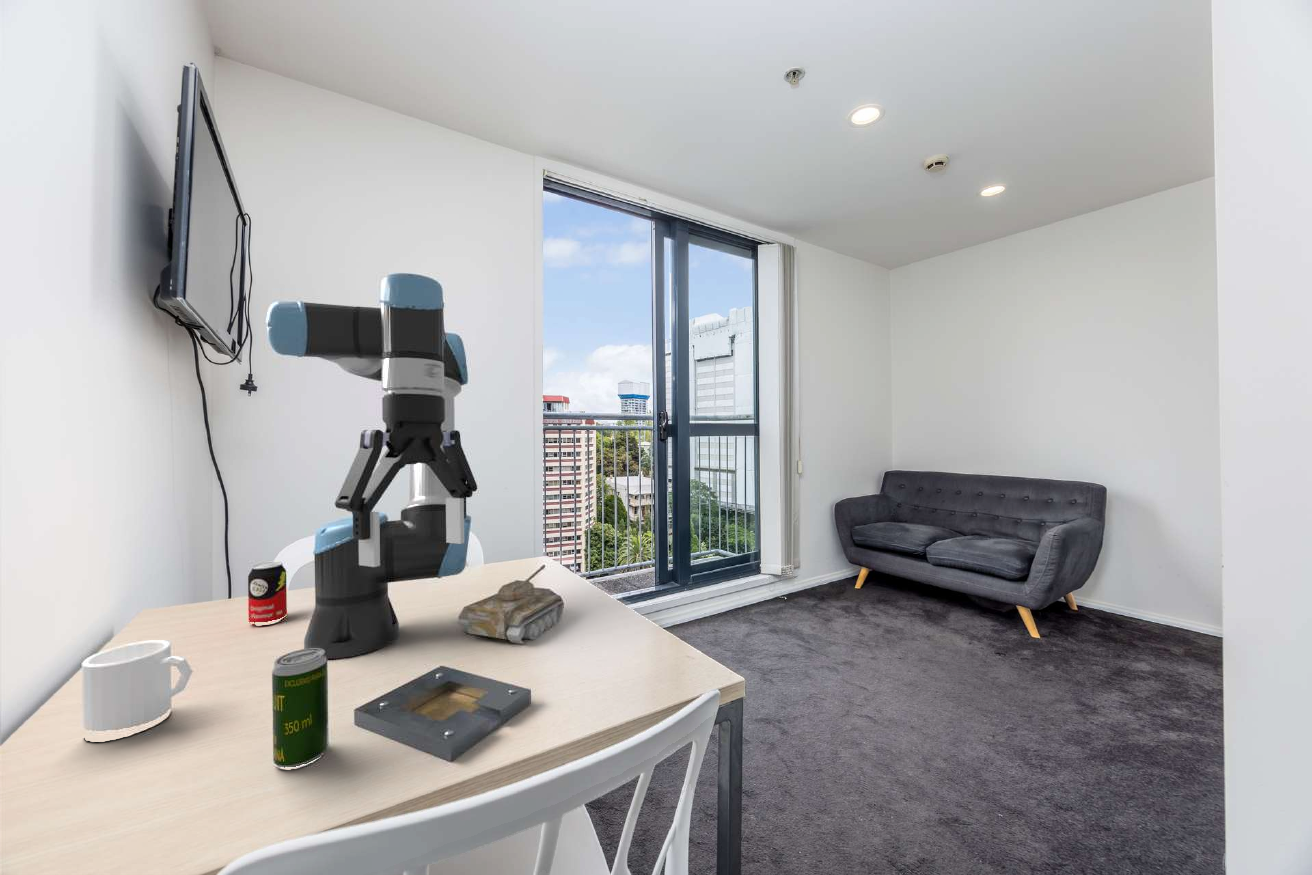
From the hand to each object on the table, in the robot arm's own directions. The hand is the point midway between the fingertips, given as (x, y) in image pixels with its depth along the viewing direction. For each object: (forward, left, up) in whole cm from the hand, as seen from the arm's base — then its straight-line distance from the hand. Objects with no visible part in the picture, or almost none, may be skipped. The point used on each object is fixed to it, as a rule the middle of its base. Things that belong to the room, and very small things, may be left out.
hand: (416, 553), depth 67 cm
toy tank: (-12, +33, -23) cm, 42 cm away
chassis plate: (+2, +3, -23) cm, 23 cm away
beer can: (-6, -11, -23) cm, 26 cm away
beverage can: (-61, +12, -23) cm, 66 cm away
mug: (-33, -16, -23) cm, 43 cm away
